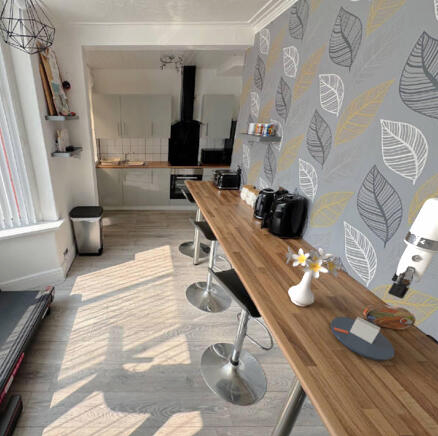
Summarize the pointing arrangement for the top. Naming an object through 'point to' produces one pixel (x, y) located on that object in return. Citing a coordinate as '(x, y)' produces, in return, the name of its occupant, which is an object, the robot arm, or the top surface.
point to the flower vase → (310, 273)
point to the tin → (389, 316)
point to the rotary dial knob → (362, 338)
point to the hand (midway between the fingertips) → (396, 288)
